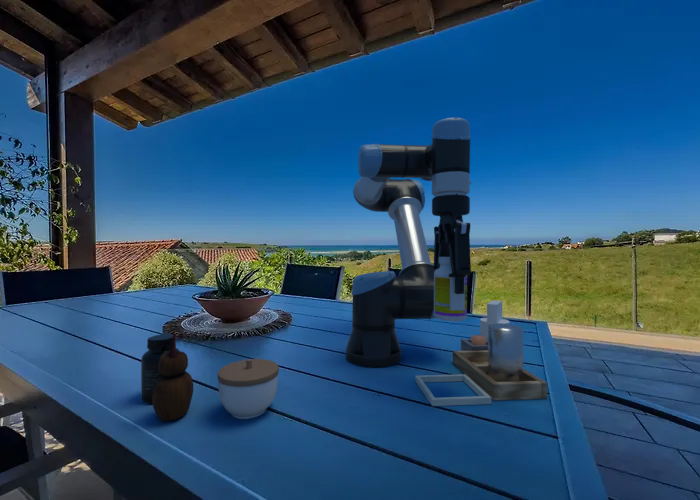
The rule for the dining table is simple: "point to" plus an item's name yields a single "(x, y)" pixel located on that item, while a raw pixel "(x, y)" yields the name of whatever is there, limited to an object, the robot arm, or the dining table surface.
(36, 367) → the dining table surface
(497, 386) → the wooden tray
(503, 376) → the billet
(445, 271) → the supplement bottle
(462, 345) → the gray open box
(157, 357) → the supplement bottle
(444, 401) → the rectangular frame
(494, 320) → the cylinder with rectangular tab
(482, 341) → the pink block
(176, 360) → the wooden figurine
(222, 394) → the lidded jar
